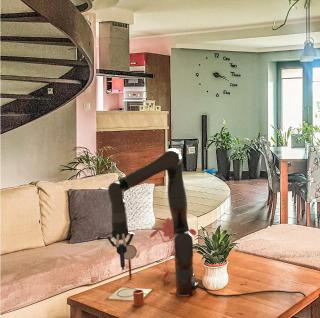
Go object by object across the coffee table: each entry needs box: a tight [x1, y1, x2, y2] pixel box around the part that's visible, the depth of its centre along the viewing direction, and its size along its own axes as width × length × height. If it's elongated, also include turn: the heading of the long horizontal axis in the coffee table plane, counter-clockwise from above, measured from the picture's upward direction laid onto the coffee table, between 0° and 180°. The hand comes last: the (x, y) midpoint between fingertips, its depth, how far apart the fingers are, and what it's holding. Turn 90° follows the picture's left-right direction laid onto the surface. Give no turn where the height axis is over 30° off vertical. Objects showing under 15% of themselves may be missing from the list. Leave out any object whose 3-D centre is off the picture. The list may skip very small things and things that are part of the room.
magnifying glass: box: [124, 244, 138, 280], centre depth 247 cm, size 9×2×20 cm, turn 105°
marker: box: [119, 242, 126, 271], centre depth 223 cm, size 2×2×14 cm
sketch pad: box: [107, 286, 153, 301], centre depth 227 cm, size 18×14×1 cm
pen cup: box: [133, 288, 145, 307], centre depth 214 cm, size 5×5×7 cm
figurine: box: [149, 217, 197, 283], centre depth 247 cm, size 15×26×35 cm, turn 115°
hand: (121, 253), depth 223 cm, fingers closed on marker, 2 cm apart
